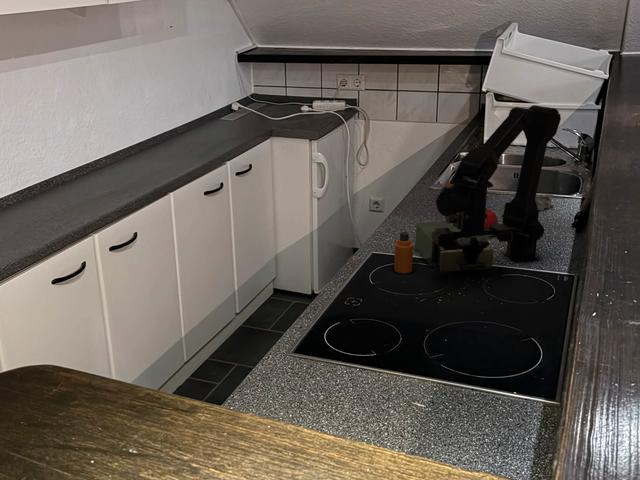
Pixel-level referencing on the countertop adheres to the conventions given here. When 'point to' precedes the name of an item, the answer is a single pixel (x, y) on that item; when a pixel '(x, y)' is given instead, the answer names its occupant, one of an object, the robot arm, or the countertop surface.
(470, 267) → the drawer
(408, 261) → the bottle
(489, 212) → the tomato
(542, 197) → the egg carton
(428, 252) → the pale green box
